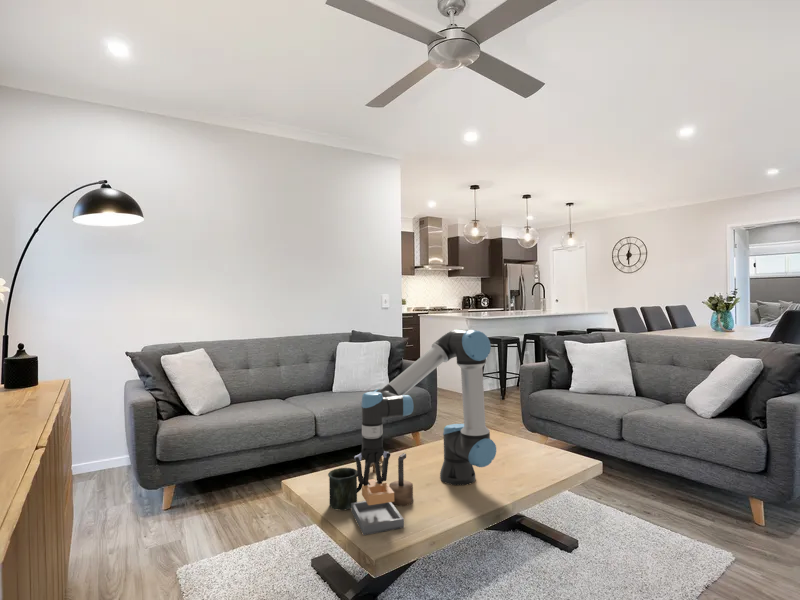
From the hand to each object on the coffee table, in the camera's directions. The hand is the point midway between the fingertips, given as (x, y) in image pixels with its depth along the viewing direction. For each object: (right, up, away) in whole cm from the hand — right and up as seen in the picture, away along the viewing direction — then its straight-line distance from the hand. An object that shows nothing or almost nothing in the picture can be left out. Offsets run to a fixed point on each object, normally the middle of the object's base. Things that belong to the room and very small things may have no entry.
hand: (372, 501), depth 158 cm
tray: (+2, -4, -4) cm, 6 cm away
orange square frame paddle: (+1, +4, -4) cm, 6 cm away
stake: (+10, -4, +10) cm, 15 cm away
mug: (-10, -5, +9) cm, 14 cm away
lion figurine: (-1, -6, +42) cm, 43 cm away
